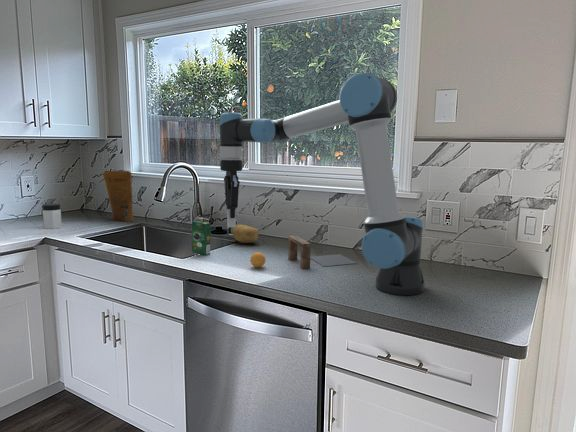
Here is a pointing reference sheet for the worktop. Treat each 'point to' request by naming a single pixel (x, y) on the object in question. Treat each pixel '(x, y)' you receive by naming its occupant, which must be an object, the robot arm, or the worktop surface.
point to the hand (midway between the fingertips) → (231, 226)
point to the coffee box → (201, 237)
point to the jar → (51, 216)
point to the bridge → (305, 251)
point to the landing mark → (332, 260)
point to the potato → (245, 233)
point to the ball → (257, 259)
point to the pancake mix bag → (119, 194)
